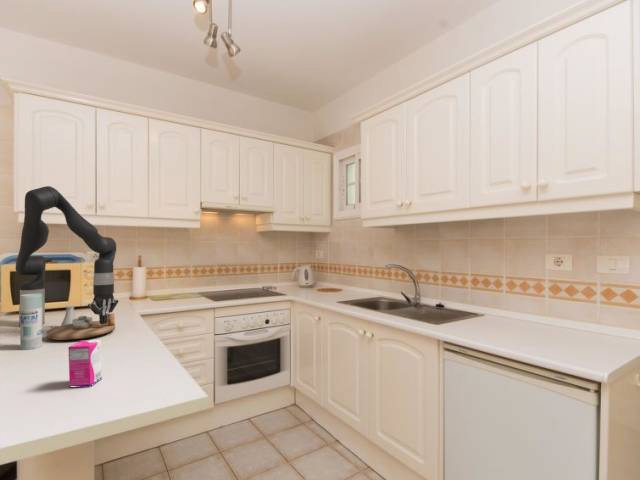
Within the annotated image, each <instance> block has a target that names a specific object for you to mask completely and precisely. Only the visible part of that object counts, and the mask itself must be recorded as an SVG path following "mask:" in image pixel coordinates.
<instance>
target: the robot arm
mask: <svg viewBox="0 0 640 480" xmlns="http://www.w3.org/2000/svg"><path fill="white" fill-rule="evenodd" d="M53 208H56V209H58V210H59V211H61V213H62V214H63V216H64V218H65V222H66V225H67V227H68V228H69V230H70V231H71V232H72V233H74V234H75V235H76V236H78V238H80V239H81V240H82V241H83V242H84V244H85V245H86V246H87V247H88V248H89V249H90V250H91V251H93V252H95V253H97V254H98V258H97V259H95V261H94V263H93V264H94V265H93V272H94V273H93V283H92V284H93V285H92V286H93V291H92V292H93V293H92V295H94V297H93V298H92V300H93V301H91V303H87V307H88V308H89V309H90V311H91V312H93V314H94V315H98V317H99V318H98V319H99V320H98V321H99V322H100V324H106V323H107V322H108V314H111V313H112V312H113V311H114V310H115V308H116V306H117V305H118V304H119V300H118V299H116V298H115V296H114V293H115V277H114V275H115V274H114V262H115V257H116V254H117V243H116V241H115V240H114V238H113V237H109V236H108V237H107V236H103V235H101V234H100V233H99V230H98V228H96V226H94V225H93V224H92V223H91V222H89V221H88V220H87V219H85V217H83V216H82V215H81V214H80V213H79V212H78V211H77V210H76V209H75V207H74V206H72V204H71V203H70V202H69V201H68V200H67V199H66V198H65V197H64V196H63V195H62V194H61V193H60V192H59V191H58V190H57V189H56V188H54V187H53V186H50V185H48V186H42V187H38V188H34V189H31V190H28V192H26V194H25V196H24V217H23V218H24V219H23V227H22V231H21V238H20V247H19V251H18V255H17V258H16V261H15V272H16V274H17V275H19V276H35V277H34V278H33V279H31V280H28V281H24V282H22V283H20V285H19V297H20V296H21V295H25V294H36V293H40V294H42V325H44V324H45V323H46V322H45V321H46V319H45V318H46V317H45V316H46V315H45V314H46V312H45V311H46V309H45V307H46V306H45V304H46V300H45V299H46V296H45V292H46V291H45V290H46V288H45V287H46V285H45V282H46V280H45V279H46V278H45V276H46V264H47V263H46V259H45V256H43V255H33V254H34V253H35V252H37V251H39V250H40V249H41V248H43V247H44V246H45V245H46V244H47V241H48V239H49V238H48V237H49V232H50V229H49V227H48V225H47V224H46V223H45V221H43V219H42V216H43V212H45V211H46V210H49V209H53ZM18 307H19V308H18V323H19V324H18V326H20V305H19V306H18Z"/></svg>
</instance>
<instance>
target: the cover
mask: <svg viewBox="0 0 640 480" xmlns="http://www.w3.org/2000/svg"><path fill="white" fill-rule="evenodd" d="M92 321H93V317H91V316H87V315H80V316H78V317H76V319H73V320H72V329H73V330H83V329H88V328H91V327H92Z"/></svg>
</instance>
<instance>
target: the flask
mask: <svg viewBox="0 0 640 480" xmlns="http://www.w3.org/2000/svg"><path fill="white" fill-rule="evenodd" d="M76 318H77V317H76V315H75V305H66V306H65V315H64V317H63V320H62V322H61V325H60V326H63V325H68V324H72V320H73V319H76Z"/></svg>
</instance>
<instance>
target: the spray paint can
mask: <svg viewBox="0 0 640 480" xmlns="http://www.w3.org/2000/svg"><path fill="white" fill-rule="evenodd" d="M19 306H20V325H19V327H20V329H19V330H20V331H19V332H20V334H19V336H20V347H19V348H20V350H22V351H30V350H36V349H39V348H41V347H42V345H43V324H42V294H40V293H36V294H25V295H21V296H20V295H19Z"/></svg>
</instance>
